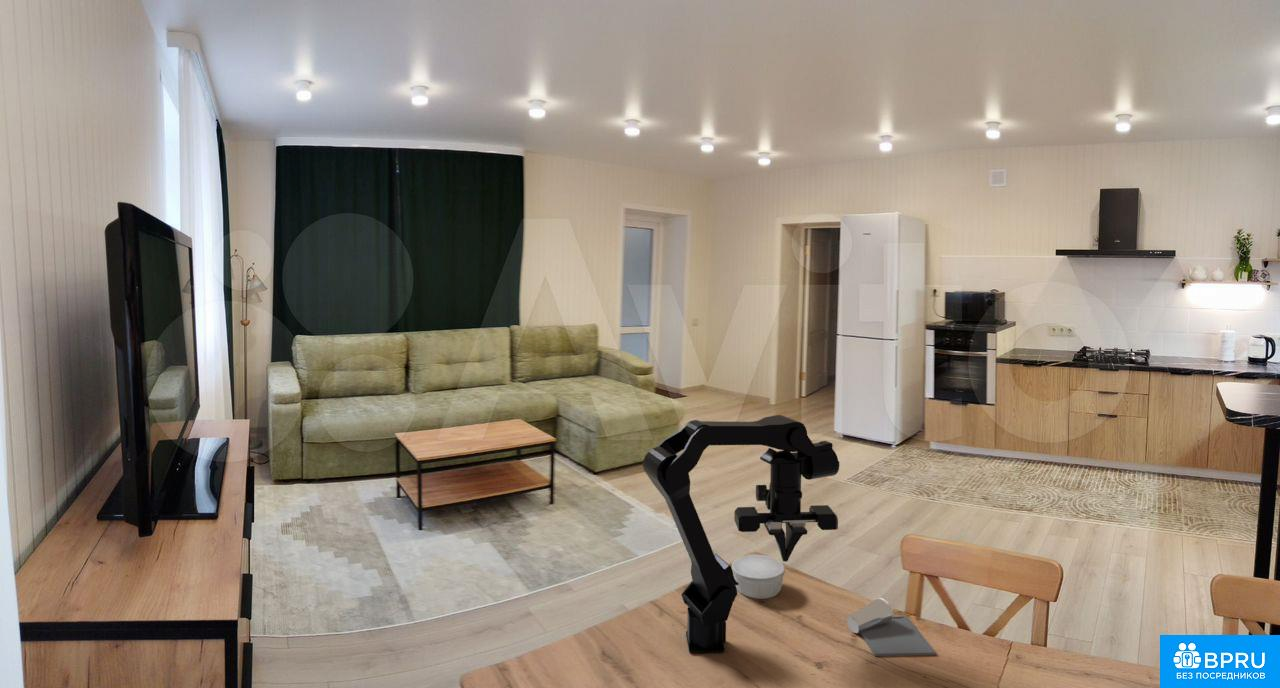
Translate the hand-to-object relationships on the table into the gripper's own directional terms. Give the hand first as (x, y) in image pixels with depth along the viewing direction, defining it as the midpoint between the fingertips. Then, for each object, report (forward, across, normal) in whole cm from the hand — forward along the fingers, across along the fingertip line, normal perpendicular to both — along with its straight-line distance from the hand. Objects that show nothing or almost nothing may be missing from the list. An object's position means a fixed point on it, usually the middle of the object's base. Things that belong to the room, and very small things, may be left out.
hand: (784, 560), depth 127 cm
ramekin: (+13, +2, -14) cm, 20 cm away
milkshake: (+12, -12, +4) cm, 17 cm away
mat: (+13, -19, +5) cm, 24 cm away
